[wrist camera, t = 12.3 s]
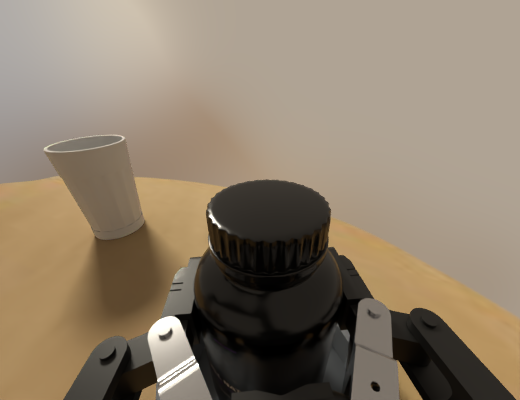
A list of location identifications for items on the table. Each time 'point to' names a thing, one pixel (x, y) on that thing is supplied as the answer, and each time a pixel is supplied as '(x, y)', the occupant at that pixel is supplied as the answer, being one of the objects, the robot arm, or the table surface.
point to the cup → (100, 182)
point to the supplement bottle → (267, 288)
